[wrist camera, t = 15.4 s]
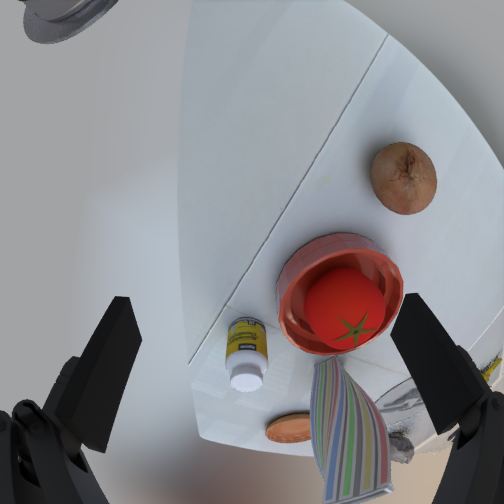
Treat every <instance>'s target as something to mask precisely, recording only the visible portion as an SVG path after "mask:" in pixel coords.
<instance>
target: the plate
mask: <svg viewBox="0 0 504 504" xmlns="http://www.w3.org/2000/svg"><path fill="white" fill-rule="evenodd" d="M374 404H375V405H376V406H377V408H378V410H379V411H380V413H381V415H382V417H383V419H384V421H385V424H386V425H389V424H394V423H397V422H400V421H403V420H405V419H407V418H409V417H411V416H413V415H415V414H417V413H419V412H420V411H422V410H423V409H425V408H426V406H425V404H424V402H423V400H422V398H421V395H420V393H419V391H418V389H417V387H416V385H415V383H414V381H413V379H412V378H410V379H408V380H406V381H404V382H402V383H401V384H399V385H397V386H396V387H394V388H393V389H391V390H390V391H388V392H387V393H386V394H384V395H383V396H382V397H381V398H379V399H378V400H377V401H376V402H375V403H374Z"/></svg>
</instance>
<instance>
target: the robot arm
mask: <svg viewBox="0 0 504 504" xmlns="http://www.w3.org/2000/svg"><path fill="white" fill-rule="evenodd" d="M19 1H22V2H24V4H25V5H26V6H27V7H28V8H29V9H31V10H32V12H33V14H34V15H35V17H36V18H38V19H41V20H44V21H47V22H55V21H59V20H62V19H65V18H67V17H69V16H71V15H72V14H74V13H75V12H77V11H78V10H80V9H81V8H83V7H84V6H85V5H86V4H87V3H89V2H90V1H91V0H19ZM390 336H391V337H392V339H393V341H394V343H395V345H396V347H397V349H398V351H399V353H400V355H401V357H402V358H403V360H404V362H405V364H406V366H407V368H408V370H409V372H410V374H411V376H412V379H413V381H414V383H415V385H416V387H417V389H418V391H419V393H420V395H421V398H422V400H423V402H424V404H425V406H426V409H427V411H428V413H429V415H430V418H431V420H432V422H433V425H434V427H435V430H436V432H437V435H440V434H442V433H445V432H447V431H449V430H451V429H452V428H453V427H454V426H455V425H456V424H457V423H458V424H459V426H460V427H459V428H458V429H457V430H456V431H455V432H454V433H453V434H451V435H450V436H449V438H448V440H447V441H450V440H451V439H452V438H453V437H454V436H455V438H454V439H453V440H452V442H453V446H452V449H451V453H450V456H449V459H448V462H447V465H446V469H445V472H444V474H443V477H442V480H441V483H440V485H439V487H438V490H437V492H436V495H435V497H434V499H433V502H432V504H504V394H502V393H501V392H497V391H495V392H492V390H491V389H490V387H489V386H488V384H487V382H486V381H485V379H484V377H483V376H482V374H481V372H480V371H479V369H478V368H476V365H475V363H474V361H472V358H471V357H470V355H469V354H468V352H467V351H466V350H464V349H463V348H462V347H461V346H460V345H458V346H456V345H455V343H454V342H453V340H452V339H451V337H450V336H449V335H448V333H447V332H446V330H445V329H444V327H443V326H442V325H441V323H440V322H439V321H438V319H437V318H436V316H435V315H434V314H433V312H432V311H431V310H430V308H429V307H428V306H427V304H426V303H425V302H424V301H423V299H422V298H421V297H420V295H419V294H418V293H410V294H406V295H405V298H404V300H403V303H402V306H401V309H400V311H399V314H398V316H397V319H396V322H395V324H394V327H393V329H392V332H391V334H390ZM141 342H142V337H141V335H140V331H139V328H138V325H137V322H136V319H135V315H134V312H133V309H132V305H131V302H130V299H129V297H120V296H115V297H114V299H113V300H112V302H111V304H110V305H109V307H108V309H107V310H106V312H105V314H104V316H103V317H102V319H101V321H100V322H99V324H98V326H97V328H96V329H95V331H94V333H93V335H92V336H91V338H90V340H89V342H88V344H87V346H86V347H85V349H84V351H83V353H82V355H81V357H75V356H73V357H71V358H70V359H69V360H68V361H67V362H66V363H65V365H64V366H63V368H62V370H61V372H60V375H59V376H58V378H57V380H56V383H54V385H53V387H52V389H51V391H50V394H49V396H48V398H47V400H46V402H45V404H44V406H43V408H42V410H41V409H40V407H39V406H38V405H37V404H36V403H35V402H34V401H32V400H28V399H26V400H22V401H20V402H18V403H17V404H16V406H15V407H14V409H13V411H12V418H11V417H10V416H9V415H8V414H7V413H6V412H5V411H1V410H0V504H109V502H108V500H107V499H106V497H105V495H104V493H103V492H102V490H101V488H100V486H99V484H98V482H97V480H96V478H95V476H94V475H93V472H92V470H91V468H90V466H89V464H88V462H87V460H86V458H85V456H84V453H83V452H82V450H81V445H82V443H83V444H84V445H85V446H86V447H88V448H89V449H92V450H95V451H98V452H101V453H105V451H106V448H107V444H108V441H109V437H110V434H111V430H112V427H113V423H114V420H115V417H116V414H117V411H118V408H119V404H120V401H121V398H122V395H123V392H124V389H125V386H126V383H127V381H128V378H129V374H130V372H131V369H132V366H133V363H134V361H135V358H136V355H137V353H138V350H139V347H140V345H141ZM18 456H19V460H18Z"/></svg>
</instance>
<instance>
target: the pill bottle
mask: <svg viewBox="0 0 504 504" xmlns="http://www.w3.org/2000/svg"><path fill="white" fill-rule="evenodd" d="M225 366H226V370H227V371H228V373H229V374H230V375H231V376H230V384H231V386H232V387H233V388H234V389H236V390H238V391H242V392H251V391H255V390H257V389H259V388H260V387H261V386H262V384H263V375H264V374H265V372H266V371H267V368H268V355H267V341H266V330H265V328H264V326H263V325H262V324H261V323H260V322H259V321H257V320H255V319H250V318H243V319H239V320H237V321H235V322H234V323H232V324H231V326H230V327H229V330H228V339H227V350H226V361H225Z"/></svg>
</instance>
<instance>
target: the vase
mask: <svg viewBox="0 0 504 504" xmlns="http://www.w3.org/2000/svg"><path fill="white" fill-rule="evenodd" d="M314 370H315V371H314V378H313V385H312V392H311V400H310V433H311V441H312V447H313V452H314V456H315V459H316V462H317V465H318V468H319V470H320V472H321V475H322V477H323V479H324V487H323V497H322V504H360V503H363V502H366V501H369V500H372V499H375V498H378V497H381V496H383V495H386V494H389V493H391V492H392V491H393V490H394V487H393V485H392V482H391V453H390V442H389V435H388V430H387V427H386V424H385V421H384V419H383V417H382V415H381V413H380V411H379V410H378V408H377V406H376V405H375V404H374V402H373V401H372V400H371V398H370V397H369V396H368V395H367V394H366V392H365V391H364V390H363V389H362V388H361V387H360V386H359V385H358V384H357V383H356V382H355V381H354V380H353V379H352V378H351V376H350V375H349V374H348V373H347V372H346V371H345V369H344V368H343V366H342V364H341V363H340V361H339V359H338V357H337V356H335V357H333V358H332V359H329V360H327V361H324V362H322V363H320V364H317V365H315V366H314Z"/></svg>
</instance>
